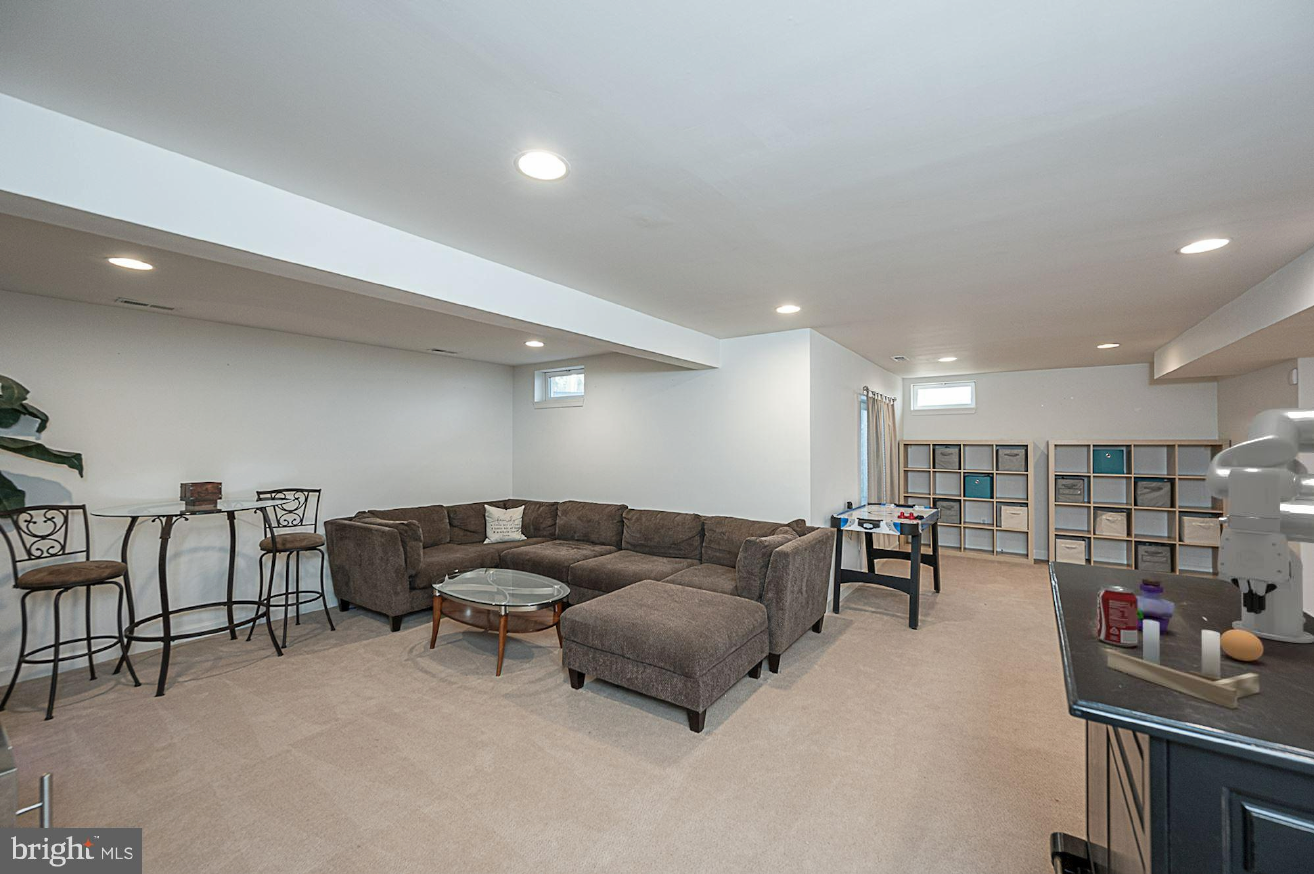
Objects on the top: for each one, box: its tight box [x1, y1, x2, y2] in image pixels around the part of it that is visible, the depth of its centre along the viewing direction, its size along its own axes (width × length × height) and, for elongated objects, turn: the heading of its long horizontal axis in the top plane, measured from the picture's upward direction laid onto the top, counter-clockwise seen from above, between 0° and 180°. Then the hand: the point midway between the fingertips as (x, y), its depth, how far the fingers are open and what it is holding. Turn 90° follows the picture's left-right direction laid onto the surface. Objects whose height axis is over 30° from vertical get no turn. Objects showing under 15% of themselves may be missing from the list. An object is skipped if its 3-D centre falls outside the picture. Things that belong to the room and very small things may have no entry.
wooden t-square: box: [1107, 650, 1260, 710], centre depth 99 cm, size 13×18×3 cm
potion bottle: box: [1135, 577, 1176, 635], centre depth 128 cm, size 9×9×12 cm
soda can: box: [1096, 584, 1139, 648], centre depth 119 cm, size 7×7×12 cm
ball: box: [1220, 628, 1264, 662], centre depth 110 cm, size 6×6×6 cm
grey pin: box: [1142, 620, 1161, 666], centre depth 107 cm, size 2×2×8 cm
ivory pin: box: [1201, 629, 1221, 678], centre depth 101 cm, size 2×2×8 cm
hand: (1254, 612), depth 115 cm, fingers closed
